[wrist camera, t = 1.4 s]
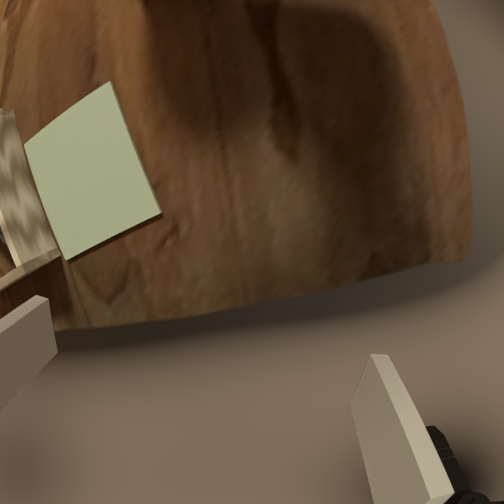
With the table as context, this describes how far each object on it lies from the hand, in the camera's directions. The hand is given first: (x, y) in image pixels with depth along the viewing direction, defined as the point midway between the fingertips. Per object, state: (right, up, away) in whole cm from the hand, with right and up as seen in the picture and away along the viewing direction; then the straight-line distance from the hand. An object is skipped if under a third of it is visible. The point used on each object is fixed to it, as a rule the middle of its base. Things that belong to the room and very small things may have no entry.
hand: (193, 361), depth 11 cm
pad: (-19, +14, +24) cm, 33 cm away
